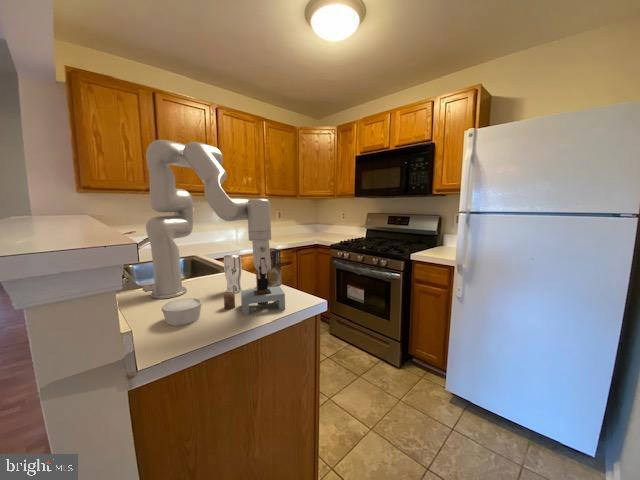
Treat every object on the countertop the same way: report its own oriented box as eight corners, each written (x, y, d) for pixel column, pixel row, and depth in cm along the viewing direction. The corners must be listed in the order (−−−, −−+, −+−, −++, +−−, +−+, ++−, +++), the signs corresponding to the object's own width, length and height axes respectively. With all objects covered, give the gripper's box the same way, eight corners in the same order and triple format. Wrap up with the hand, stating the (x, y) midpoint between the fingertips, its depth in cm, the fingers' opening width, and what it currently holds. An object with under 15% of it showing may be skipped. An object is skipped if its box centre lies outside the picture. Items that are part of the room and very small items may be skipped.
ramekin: (208, 319, 85) (207, 303, 84) (168, 331, 77) (167, 314, 76) (195, 309, 93) (194, 295, 92) (159, 319, 85) (157, 303, 84)
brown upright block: (224, 310, 92) (223, 296, 91) (224, 306, 96) (223, 292, 95) (235, 308, 93) (234, 294, 93) (235, 304, 97) (234, 291, 96)
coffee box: (272, 282, 124) (271, 247, 122) (282, 284, 120) (281, 249, 118) (256, 286, 117) (255, 250, 115) (266, 289, 113) (264, 252, 111)
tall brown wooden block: (258, 305, 92) (256, 262, 90) (256, 302, 95) (255, 260, 93) (268, 304, 93) (267, 262, 91) (267, 300, 96) (265, 259, 94)
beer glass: (224, 294, 108) (222, 257, 106) (226, 289, 114) (224, 254, 112) (242, 293, 109) (240, 257, 107) (243, 287, 116) (241, 253, 114)
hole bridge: (243, 315, 88) (242, 298, 87) (241, 305, 96) (240, 290, 95) (285, 309, 92) (284, 293, 92) (280, 300, 101) (279, 286, 100)
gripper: (275, 238, 84) (277, 294, 87) (267, 232, 100) (269, 280, 102) (250, 239, 82) (253, 296, 84) (246, 233, 97) (248, 282, 100)
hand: (262, 287), depth 93 cm, fingers closed on tall brown wooden block, 3 cm apart
